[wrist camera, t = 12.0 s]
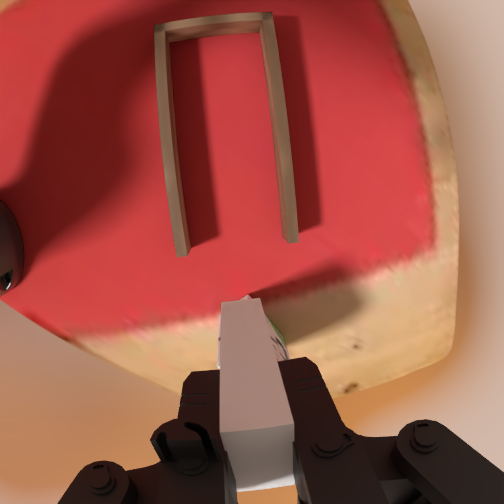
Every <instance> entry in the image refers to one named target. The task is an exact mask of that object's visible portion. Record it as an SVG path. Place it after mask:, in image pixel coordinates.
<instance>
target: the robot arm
mask: <svg viewBox="0 0 504 504" xmlns="http://www.w3.org/2000/svg"><path fill="white" fill-rule="evenodd" d="M23 262H24V252H23V243H22V238H21V234H20V231H19V228H18V225H17V223H16V220H15V218H14V216H13V215H12V213H11V211H10V210H9V209H8V208H7V206H6V205H5V204H4V203H2V202H1V201H0V296H2V295H4V294H6V293H7V292H9V291H10V290H12V289H13V288H14V287H15V286H16V285H17V283H18V281H19V279H20V277H21V274H22V270H23ZM181 395H182V397H181V400H180V407H179V412H178V419H173V420H171V421H168V422H166V423H164V424H162V425H161V426H160V427H159V428H157V429H156V430H155V431H154V433H153V435H152V437H151V439H150V441H151V443H152V445H153V447H154V449H155V451H156V453H157V454H158V456H159V458H160V460H161V461H160V462H158V463H156V464H154V465H151V466H148V467H144V468H139V469H133V470H128V471H125V470H124V469H123V468H122V466H120V465H118V464H116V463H114V462H110V461H97V462H93V463H91V464H89V465H87V466H85V467H84V468H83V469H82V470H81V471H80V472H79V473H78V474H77V476H76V477H75V479H74V480H73V482H72V483H71V485H70V486H69V488H68V489H67V491H66V492H65V493H64V495H63V497H62V498H61V499H60V501H59V502H58V504H238V502H237V491H238V492H239V491H250V490H259V489H267V488H275V487H281V486H288V485H293V484H296V488H297V492H298V504H504V472H502V471H501V470H500V469H499V468H497V467H496V466H495V465H494V464H492V463H491V462H490V461H488V460H487V459H486V458H484V457H483V456H482V455H481V454H479V453H478V452H477V451H476V450H474V449H473V448H472V447H471V446H469V445H468V444H467V443H465V442H464V441H463V440H462V439H461V438H459V437H458V436H457V435H455V434H454V433H453V432H452V431H450V430H449V429H448V428H447V427H445V426H444V425H442V424H440V423H439V422H437V421H432V420H426V419H425V420H416V421H414V422H411V423H409V424H407V425H406V426H405V427H404V428H402V429H401V430H400V432H399V434H398V436H389V437H365V436H362V435H358V434H356V433H354V431H352V430H351V429H349V428H347V427H346V426H345V425H344V423H343V422H342V420H341V417H340V415H339V413H338V411H337V409H336V407H335V404H334V402H333V400H332V398H331V395H330V393H329V391H328V389H327V388H326V384H325V382H324V380H323V378H322V376H321V373H320V371H319V369H318V367H317V365H316V364H315V363H313V362H312V361H311V360H309V359H308V358H307V357H302V358H296V359H290V360H283V361H277V359H276V355H275V352H274V348H273V344H272V341H271V337H270V333H269V329H268V326H267V322H266V318H265V315H264V311H263V307H262V304H261V300H260V298H254V299H246V300H237V301H229V302H221V336H220V369H219V370H208V371H195V372H191V373H190V375H189V376H188V377H187V378H186V380H185V381H184V382H183V388H182V394H181ZM236 488H237V490H236Z"/></svg>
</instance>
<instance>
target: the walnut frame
mask: <svg viewBox="0 0 504 504" xmlns="http://www.w3.org/2000/svg"><path fill="white" fill-rule="evenodd" d="M241 33H260V39H261V46H262V53H263V60H264V68H265V75H266V83H267V91H268V99H269V107H270V116H271V124H272V133H273V142H274V151H275V161H276V170H277V180H278V191H279V201H280V212H281V223H282V234H283V238H284V239H285V240H286V241H287V242H288V243H297V242H299V234H298V221H297V208H296V196H295V185H294V175H293V164H292V155H291V145H290V136H289V127H288V119H287V111H286V103H285V95H284V87H283V80H282V73H281V66H280V59H279V52H278V46H277V39H276V33H275V27H274V21H273V15H272V12H255V13H236V14H224V15H214V16H205V17H198V18H191V19H184V20H178V21H173V22H167V23H162V24H157V25H154V44H155V70H156V88H157V103H158V116H159V127H160V138H161V148H162V157H163V166H164V175H165V183H166V190H167V198H168V205H169V212H170V219H171V225H172V232H173V238H174V244H175V250H176V256H177V257H183V256H188V254H189V252H190V249H191V244H190V238H189V231H188V224H187V217H186V210H185V203H184V195H183V187H182V180H181V171H180V163H179V154H178V144H177V135H176V124H175V113H174V101H173V88H172V74H171V57H170V42H176V41H182V40H188V39H194V38H202V37H209V36H218V35H229V34H241Z"/></svg>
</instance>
